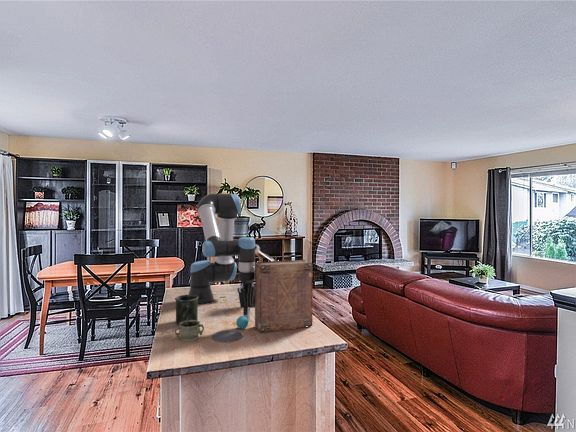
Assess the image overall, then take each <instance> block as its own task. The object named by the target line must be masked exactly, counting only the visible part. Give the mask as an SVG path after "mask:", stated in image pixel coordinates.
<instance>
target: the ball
mask: <svg viewBox="0 0 576 432" xmlns="http://www.w3.org/2000/svg"><path fill="white" fill-rule="evenodd" d="M235 325H236V326H237V328H239V329H240V330H241V329H246V328H247V327H248V326H249V322H248V319H247V318H246V317H244V316H243V315H241V316H239V317H237V319H236V321H235Z"/></svg>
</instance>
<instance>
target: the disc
mask: <svg viewBox="0 0 576 432" xmlns="http://www.w3.org/2000/svg"><path fill="white" fill-rule="evenodd" d="M243 337H244V335H243V332H241V331H239V330H222V331H217V332H216V333H213V334H212V336H211V338H212V340H213V341H216V342H220V343H232V342H236V341H239V340H242V338H243Z"/></svg>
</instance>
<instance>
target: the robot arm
mask: <svg viewBox="0 0 576 432" xmlns="http://www.w3.org/2000/svg"><path fill="white" fill-rule="evenodd" d="M241 204H242V203H241V199H240V197H239V196H238V194H235V193H233V194H232V193H209V194H206V195H205V196H203V197H202V198H201V199H200V201H199V202H198V204H197V208H196V209H197V210H196V211H197V214H198V216H199V218H200V221H201V224H202V225H201V226H202V230H203V235H204V239H205V241H203V243H202V255H203V257H206V258H208V257H209V258H214V262H212V261H211V260H198V261H195V262H193V263H191V265H190V270H189V273H190V285H189V286H190V288H189V292H188V294H187V295H197V296H198V297H199V298H198V305H201V304H208V303H212V302H213V301H214V293H213V292H212V291H213V290H212V288H211V286H212V285H211V283H220V282H221V283H222V282H226V283H227V282H231V281H233V280H234V279H235V278H236V275H237V267H238V280H240V285H239V286H240V287H237V289H236V291H237V292H238V299H239V306H240V308H242V309H243V312H242V313H243V315H242V316H244V317H246V318H247V319H248V323H250V322H251V308H253V306H252V305H251V304H253V299H254V290H255V282H254V281H255V263H256V255H255V249H256V246H255V244H256V240H255V238H254V237H247V236H246V237H240V238H238V239H236V240H235V239H234V231H235V229H234V228H235V220H237V218H238V215H240V214H241V213H242V205H241ZM216 217H217V218H218V219H219V223H218V221H217V218H216ZM237 256H238V265H237V262H235V259H234V258H233V257H237ZM253 280H254V281H253Z"/></svg>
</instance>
